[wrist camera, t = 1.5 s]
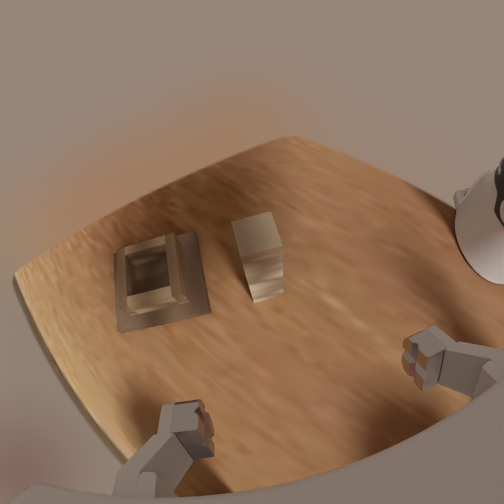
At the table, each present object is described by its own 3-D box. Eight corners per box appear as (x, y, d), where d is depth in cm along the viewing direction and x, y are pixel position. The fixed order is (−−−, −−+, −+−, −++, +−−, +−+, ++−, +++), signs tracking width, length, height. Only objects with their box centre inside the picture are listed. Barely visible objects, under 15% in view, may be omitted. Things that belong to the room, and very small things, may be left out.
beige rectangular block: (275, 268, 36) (270, 211, 25) (283, 294, 34) (282, 245, 23) (247, 276, 35) (230, 221, 25) (253, 302, 34) (240, 257, 23)
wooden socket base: (196, 235, 39) (188, 217, 35) (211, 312, 34) (202, 302, 30) (118, 257, 39) (103, 243, 35) (122, 332, 33) (105, 324, 30)
